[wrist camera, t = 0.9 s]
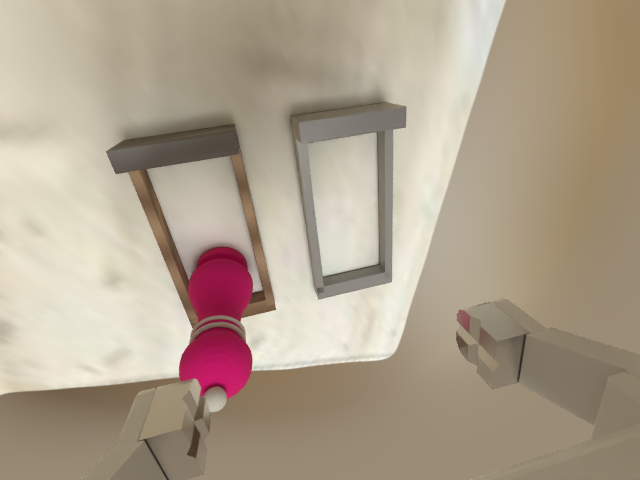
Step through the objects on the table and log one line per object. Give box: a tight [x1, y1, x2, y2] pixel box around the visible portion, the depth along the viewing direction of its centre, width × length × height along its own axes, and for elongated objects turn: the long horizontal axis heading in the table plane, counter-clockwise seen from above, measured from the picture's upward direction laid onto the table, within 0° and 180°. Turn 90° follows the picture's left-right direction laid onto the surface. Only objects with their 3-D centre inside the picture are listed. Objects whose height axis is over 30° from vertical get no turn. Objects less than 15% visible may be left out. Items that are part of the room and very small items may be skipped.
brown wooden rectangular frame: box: [106, 124, 276, 328], centre depth 36 cm, size 24×11×5 cm, turn 6°
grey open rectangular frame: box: [291, 102, 406, 300], centre depth 39 cm, size 24×11×5 cm, turn 6°
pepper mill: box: [179, 247, 253, 412], centre depth 32 cm, size 7×7×20 cm
